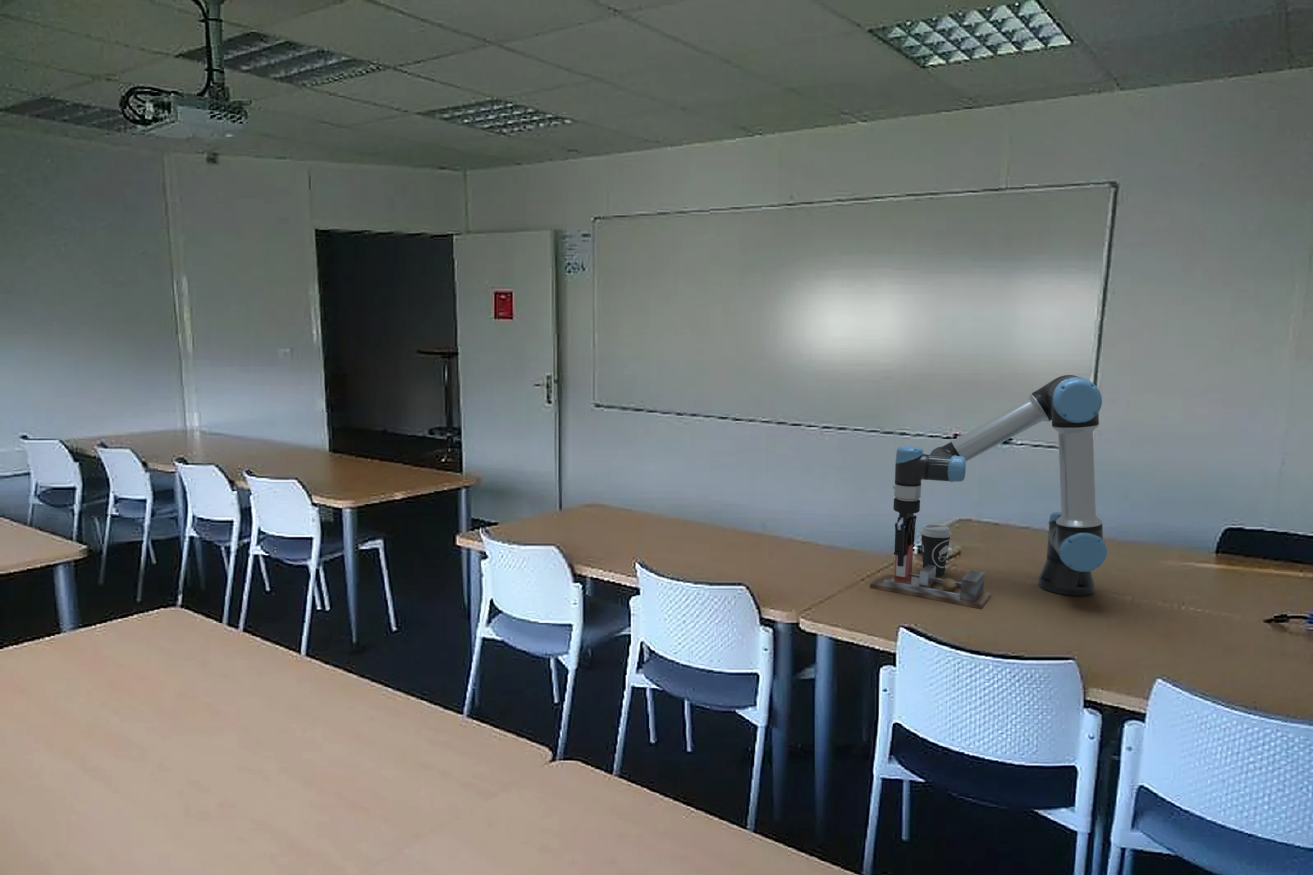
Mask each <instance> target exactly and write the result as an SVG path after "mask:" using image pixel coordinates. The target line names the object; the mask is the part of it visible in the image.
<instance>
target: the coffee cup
mask: <svg viewBox="0 0 1313 875" xmlns="http://www.w3.org/2000/svg"><path fill="white" fill-rule="evenodd" d="M919 533H920V535H921V554H922V555H921V556H922V569H923V568H924V567H926V566H927V565H934V566H936V575H935V577H943V576H945V572H946V567H947V561H948V559H947V558H948V553H949V547H950V546H949V545H950V539H951V537H952V536H953V533H952V531H951V529H950V528H949V526H947V525H943V524H938V523H937V524H934V523H929V524H923V525H922V528H921V529H920V531H919Z"/></svg>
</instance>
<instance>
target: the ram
mask: <svg viewBox="0 0 1313 875" xmlns="http://www.w3.org/2000/svg"><path fill="white" fill-rule="evenodd" d="M913 548H914V547H913V543H908V542H907V546H906V555H907V559H906V577H901V576H896V562H897V555H894V573H893V575H894V578H893V579H892V580H891V581H893V582H899V583H904V584H910V585H915V586H920V587H926V588H931V587H932V586H933V585H934V584H935V578H936V576H935V575H936V566H934V565H927V566H926V567H924V568H923V567H922V569H920V571H919V575H920V578H918V577H912V574H913V557H914V555H913V554H914V551H913Z"/></svg>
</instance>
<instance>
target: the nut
mask: <svg viewBox="0 0 1313 875" xmlns="http://www.w3.org/2000/svg"><path fill="white" fill-rule="evenodd" d="M955 581H956V580H954V579H953V578H949V577H946V578H945V580H943V582H942V588H943V589H944V590H945V591H947V592H952V591H954V590H955V589H956V582H957V581H956V582H955Z"/></svg>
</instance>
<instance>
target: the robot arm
mask: <svg viewBox="0 0 1313 875" xmlns="http://www.w3.org/2000/svg"><path fill="white" fill-rule="evenodd" d="M1102 404H1103V396H1102V393H1101V391H1100V390H1099V388H1098V387H1097V385H1096V384H1094V382H1093V381H1091V380H1089V379H1086V378H1084V377H1081V376H1078V375H1073V374H1065V375H1060V376H1058V377H1056V378H1054V379H1052V380H1051V381H1050V382H1048V383H1046V384H1045V385H1043V386H1041V387H1040V388H1038V389H1037V390H1035V391H1032V393H1029V397H1028V399H1026V400H1025V401H1022V402H1020V403H1018V404H1017V405H1015V406H1013V407H1011V408H1010V409H1008V410H1006V411H1005V412H1002V413H1000V414H999V415H997V416H995V417H994V418H991V419H990V420H987V421H986V422H984V423H982V424H981V425H978V426H977V427H975V428H973V429H972V430H969V431H967V432H966V433H964V434H962V435H961V436H959V437H957V438H955V439H953V440H951V441H950V442H947V444H943V446H936V447H935V448H933V449H932V450H931V451H930V454H926V453H924V450H923V448H922V447H920V446H914V445H903V446H899V447H898V448H897V449H896V453H895V456H896V457H895V465H894V467H895V468H894V472H895V473H894V485H892V489H894V495H893V496H894V498H893V511H895V512H896V513H899V514H898V516H897V521H896V522H895V523H894V529H895V530H894V531H895V532H894V552H893V555H894V556H895V555H897V562H896V576H901V577H906V559H907V555H906V546H907V542H908V543H913V552H915V550H916V549H915V539H916V538H915V537H916V536H915V535H916V524H917V523H916V521H917V518H918V517H917V515H914V514H918V513H919V512H920V510H921V500H920V498H921V495H922V493H921V492H922V480H923V481H940V482H941V481H942V482H950V483H955V482H957V483H958V482H960V483H961V482H963V481H964V480H965V479H966V478H965V477H966V466H967V463H966V462H968V461H971V460H972V459H975V458H976V457H978V456H979V455H982V454H983V453H985V452H987V451H989V450H991V449H992V448H995V447H996V446H998V445H1001V444H1002V443H1003V442H1006V441H1008V440H1009V439H1011V438H1013V437H1015V436H1018V435H1019V434H1020V433H1022V432H1024V431H1026V430H1028V429H1030V428H1032V427H1033V426H1036V425H1037V424H1039V423H1041V422H1047V423H1049V422H1050V421H1051V426H1052V428H1053V429H1054V430H1055V431H1056V432H1057V434H1058V455H1059V456H1058V460H1059V480H1060V481H1059V482H1060V508H1061V511H1057V512H1052V513H1051V514H1050V516H1049V520H1048V536H1047V548H1046V549H1047V550H1046V561H1045V563H1044V565H1043V566H1042V569H1041V571H1040V574H1039V576H1038V582H1037V583H1038V586H1039V587H1040V588H1042V589H1043V590H1045V591H1048V592H1050V593H1055V594H1058V595H1063V596H1064V595H1065V596H1073V597H1075V596H1076V597H1084V596H1089V595H1093V594H1094V592H1095V581H1094V578H1093V574H1092V571H1094V570H1096V569H1099V568H1100V566H1102V565H1103V564H1104V563H1105V561H1106V559H1107V555H1108V547H1107V544H1106V542H1105V541H1104V536H1103V535H1104V534H1103V533H1104V531H1103V520H1102V519H1101V518H1099V517H1098V516H1097V511H1096V510H1097V509H1096V479H1095V458H1094V457H1095V456H1094V455H1095V454H1094V450H1095V449H1094V431H1095V429H1096V428H1098V427H1099V425H1100V416H1099V415H1100V414H1099V412H1100V411H1101V408H1102Z"/></svg>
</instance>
